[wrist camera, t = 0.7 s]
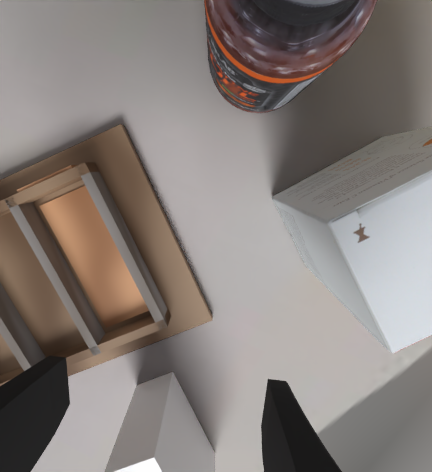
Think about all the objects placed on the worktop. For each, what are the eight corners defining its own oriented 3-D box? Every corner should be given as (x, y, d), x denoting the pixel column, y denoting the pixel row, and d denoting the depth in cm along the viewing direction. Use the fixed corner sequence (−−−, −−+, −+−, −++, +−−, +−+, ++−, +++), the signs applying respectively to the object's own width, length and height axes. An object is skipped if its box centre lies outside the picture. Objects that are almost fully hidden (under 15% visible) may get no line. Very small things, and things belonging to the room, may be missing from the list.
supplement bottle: (188, 68, 18) (143, -80, 7) (254, -19, 17) (318, -338, 6) (261, 136, 19) (320, 94, 8) (329, 57, 18) (500, -113, 7)
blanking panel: (180, 464, 25) (166, 577, 18) (137, 384, 23) (103, 475, 16) (215, 452, 25) (214, 562, 18) (172, 371, 23) (154, 457, 16)
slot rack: (-27, 409, 24) (-50, 432, 22) (-139, 247, 21) (-178, 255, 19) (212, 316, 22) (211, 331, 20) (123, 125, 19) (112, 120, 17)
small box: (305, 267, 21) (387, 361, 11) (268, 195, 20) (322, 224, 10) (415, 212, 20) (619, 257, 10) (383, 133, 19) (574, 94, 9)
